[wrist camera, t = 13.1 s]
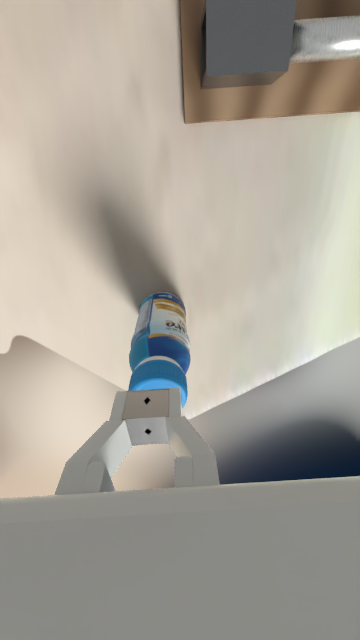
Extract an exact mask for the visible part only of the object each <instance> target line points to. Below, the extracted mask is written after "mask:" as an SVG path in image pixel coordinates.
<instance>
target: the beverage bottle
mask: <svg viewBox="0 0 360 640" xmlns="http://www.w3.org/2000/svg"><path fill="white" fill-rule="evenodd" d="M189 352H190V341H189V338H188V335H187V329H186V312H185V307H184V304H183V303H182V301H181V300H180V299H179V298H178V297H177V296H175V295H173V294H171V293H167V292H157V293H153V294H151V295H149V296H148V297H146V298H145V299H144V301H143V302H142V304H141V306H140V309H139V315H138V320H137V324H136V328H135V333H134V335H133V337H132V341H131V351H130V354H129V362H130V367H131V370H132V372H133V373H132V376H131V380H130V384H129V390H128V391H135V390H152V389H165V388H169V389H170V388H180V392H181V405H182V408H183V406H184V405H185V403H186V400H187V382H186V376H185V374H186V372H187V370H188V368H189V365H190V353H189Z"/></svg>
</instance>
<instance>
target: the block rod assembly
mask: <svg viewBox="0 0 360 640" xmlns="http://www.w3.org/2000/svg"><path fill="white" fill-rule="evenodd" d="M349 59H360V15H354V16H340V17H326V18H312V19H298V20H294V27H293V35H292V43H291V52H290V60H289V64H292V63H306V62H320V61H334V60H349Z"/></svg>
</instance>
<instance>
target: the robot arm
mask: <svg viewBox="0 0 360 640" xmlns="http://www.w3.org/2000/svg"><path fill="white" fill-rule="evenodd" d="M167 443H169V445H170V447H171V449H172V450H173V452H174V453H175V455H176V457H177V458H176V459H175V484H174V488H161V489H146V490H130V491H115V489H114V486H113V483H112V481H111V477H112V476H113V475H114V473H115V471H116V470H117V469H118V467H119V466H120V464H121V463H122V461H123V460H124V458H125V457H126V455H127V454H128V452H129V451H130V449H131V448H132V446H135V445H145V444H167ZM0 640H360V476H355V477H340V478H323V479H307V480H291V481H274V482H260V483H242V484H227V485H220V484H219V477H218V471H217V465H216V458H215V453H214V452H213V451H212V449H211V448H210V447H209V446H208V445H207V443H206V442H205V441H204V440H203V438H202V437H201V436H200V435H199V434H198V432H197V431H196V430H195V429H194V427H193V426H192V425H191V424H190V422H189V421H188V420H187V419H186V417H185V416H182V405H181V392H180V388H170V389H169V388H165V389H152V390H135V391H118V392H117V393H116V396H115V400H114V403H113V408H112V412H111V416H110V420H109V421H106V422H105V423H104V424H103V425H102V426H101V427H100V428H99V429H98V430H97V431H96V432H95V433H94V434H93V435H92V436H91V437H90V438H89V439H88V440H87V441H86V442H85V444H83V446H82V447H81V448H80V449H79V450H78V451H77V452H76V453H75V454H74V455H73V456H72V457H71V458H70V459H69V460H68V461H67V462H66V464H65V467H64V470H63V473H62V475H61V478H60V481H59V484H58V487H57V490H56V492H55V495H50V496H33V497H17V498H1V499H0Z"/></svg>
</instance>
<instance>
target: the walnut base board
mask: <svg viewBox="0 0 360 640" xmlns="http://www.w3.org/2000/svg"><path fill="white" fill-rule="evenodd" d="M204 5H205V0H180V13H181V39H182V64H183V90H184V115H185V124H187V123H201V122H215V121H230V120H244V119H258V118H272V117H287V116H301V115H315V114H329V113H343V112H358V111H360V59H349V60H334V61H320V62H306V63H292V64H289V68H288V71H287V72H286V73H285V74H283V75H282V76H281V77H280V78H278V79H277V80H276V81H275V82H273V83H272V84H271V85H258V86H243V87H229V88H215V89H201V19H202V14H203V9H204ZM354 15H360V0H297V2H296V10H295V18H294V20H298V19H312V18H326V17H340V16H354Z"/></svg>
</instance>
